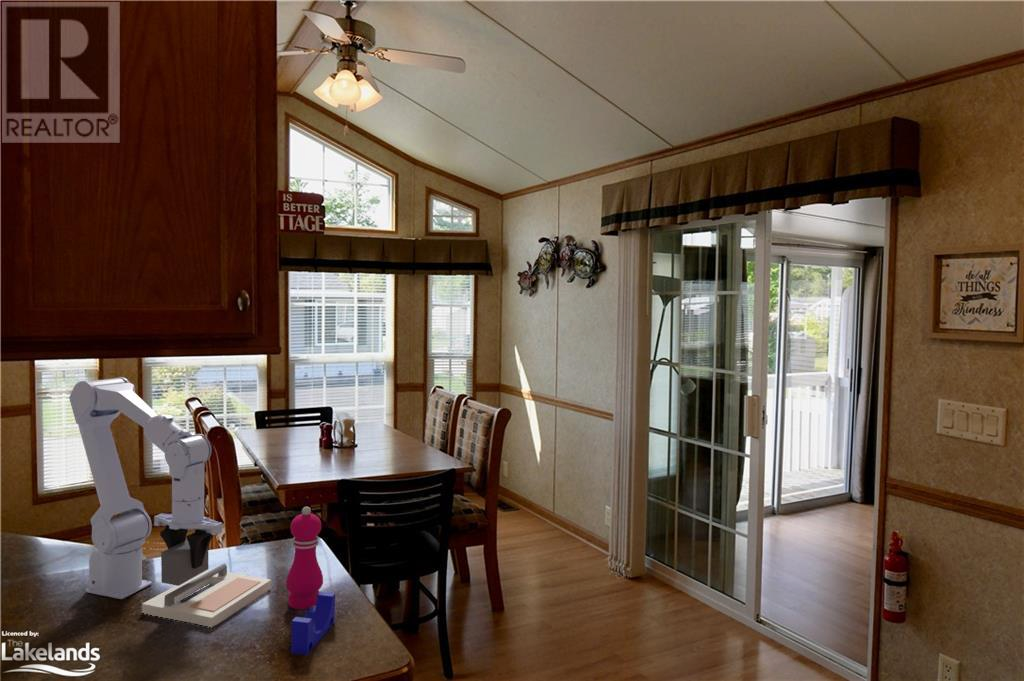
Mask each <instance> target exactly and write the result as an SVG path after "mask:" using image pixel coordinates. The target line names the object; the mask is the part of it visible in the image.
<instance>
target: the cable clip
mask: <svg viewBox="0 0 1024 681" xmlns="http://www.w3.org/2000/svg"><path fill="white" fill-rule="evenodd" d="M335 613H336V592H330V591H329V592H328V591H319V593H318V595H317V603H316V606H312V607H311V608H309V609H307V611H306V613H305V616H304V617H301V616H300V617H299V616H294V618H293V619H292V620H291V638H290V639H291V640H290V641H291V643H290V644H291V646H290V653H291V654H296V655H297V654H298V655H305V656H307V655H309V653H310V652H311V651H312V650H313V649H314V648H315V646H316V645H317V644H318V643H319V642H320V640H322V638H323V637H324V636H325V634H326V633H327V632H328V631H329V630H330V629H331V627H332V626H333V625H334V623H335V619H336V618H335Z"/></svg>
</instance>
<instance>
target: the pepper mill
mask: <svg viewBox="0 0 1024 681" xmlns="http://www.w3.org/2000/svg"><path fill="white" fill-rule="evenodd" d="M311 512H312V510H311V507H309V506H304V507H303V508H302V509H301V513H300V514H298V515H296V516H295V517H294V518H293V519H292V520H291V523H290V529H289V530H290V534H291V535H292V536H293V538H292V546H293V547H294V556H293V557H294V558H293V561H292V564H291V567H290V568H289V571H288V573H287V576H286V582H285V583H286V584H285V587H286V589H287V591H288V592H289V593H288V598H287V600H288V602H287V605H288V607H290V608H291V609H295V610H309V609H310V608H311V607H312V606H316V603H317V595H318V593H319V592H320V591H319V590H320V589H321V587H323V584H324V575H323V572H322V570H321V567H320V565H319V562H318V559H317V546H318V545H319V536H318V535H319V534H320V532H321V530H322V522H321V519H320V517H319V516H318V515H316V514H314V513H311Z"/></svg>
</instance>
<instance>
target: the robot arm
mask: <svg viewBox="0 0 1024 681" xmlns="http://www.w3.org/2000/svg"><path fill="white" fill-rule="evenodd" d="M68 398H69V402H70V405H71V410H72V413H73V416H74V419H75V423H76V424H77V426H78V430H79V433H80V435H81V440H82V444H83V448H84V451H85V455H86V457H87V458H86V459H87V461H88V466H89V468H90V472H91V475H92V479H93V483H94V487H95V490H96V494H97V498H98V502H99V505H100V506H99V508H98V509H97V510H96V511H95V513H94V514H93V515H92V516H91V518H90V524H91V540H92V541H91V542H92V543H93V545H94V547H95V548H94V550H92V552H91V554H90V556H89V559H88V560H89V561H88V588H86V589H85V593H88V594H92V595H93V594H94V595H98V596H104V597H109V598H113V599H118V600H124V599H126V598H127V597H129V596H131V595H133V594H134V593H136V592H140V590H142V589H145V588H147V587H149V586H150V585H152V584H153V582H152V581H150V580H146V579H143V545H144V544H146V538H148V537H149V536H150V534H151V532H152V527H153V526H152V523H153V524H154V526H155V527H160V526H164V527H165V528H164V529H163V530H161V531H160V532H159V536H160V537H161V538H162V540H163V542H164V544H165V545H166V547H167V549H169V548H171V547H174V546H176V545H178V544H180V543H182V542H184V541H186V540H188V543H189V546H190V551H191V565H192V568H194V569H196V568H198V567H200V566H202V564H203V560H204V556H205V553H206V550H207V547H208V548H209V545H210V543H211V542H212V540H213V537H214V536H217V535H219V534H221V533H223V522H221V521H220V522H219V521H216V520H214V519H211V518H209V517H206V516H205V463H206V462H207V461H209V459H210V457H211V455H212V445H211V442H210V441H209V439H208V438H207V437H206V435H205V434H202V433H196V434H195V433H194V432H190V431H189V430H187V429H186V428H185V427H183V426H182V425H181V424H179V423H178V422H177V421H176V420H174V418H175V417H173V415H171V414H164V413H162V414H158V413H157V412H155V410H153V408H151V406H149V405H148V404H147V403H146V401H144V400H143V399H142V398H141V397H140V396H139V395H138V394H137V393H136V388H135V384H133V383H131V381H130V380H128V379H127V378H126V377H124V376H118V377H115V378H105V379H97V380H95V379H94V380H88V381H87V380H80V381H78V382H77V383H75V385H74V386H73V388H72V390H71V393H70V395H69V397H68ZM121 413H122V414H124V416H126V417H128V418H129V419H131V420H132V421H133V422H134V423H136V424H138V426H141V427H142V428H143V435H144V437H145V438H146V440H148V441H150V442H151V443H152V444H153V445H154V446H156V447H157V448H158V449H159V450H160V451H161V452H163V453H164V459H165V462H166V463H167V465H168V469H169V470H168V473H169V475H170V477H171V513H159V514H157V515H154V518H153V521H154V522H152V520H151V517H150V516H149V514H148V512H147V511H146V510H145V507H144V503H143V502H142V501H140V500H139V499H136V498H133V497H131V496H130V492H129V489H128V486H127V483H126V479H125V475H124V471H123V469H122V468H123V467H122V464H121V461H120V457H119V454H118V451H117V447H116V444H115V439H114V437H113V432H112V430H111V424H112V423H113V421H114V420H115V419H116V418H118V416H120V414H121ZM120 514H122V515H120ZM116 515H119V516H116ZM113 516H116V517H113ZM188 531H194V532H192V533H190V534H188ZM187 534H188V535H187Z"/></svg>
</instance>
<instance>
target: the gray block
mask: <svg viewBox="0 0 1024 681" xmlns="http://www.w3.org/2000/svg"><path fill="white" fill-rule="evenodd" d="M160 557H161V558H160V559H161V560H160V561H161V562H160V563H161V564H160V565H161V584H167V585H172V586H176V585H177V586H179V585H181V584H183V583H185V582H186V581H188V580H190V579H192V578H194V577H195V576H197V575H199V574H201V573H202V572H204V571H206V570H208V569H209V546H208V547H207V550H206V553H205V556H204V560H203V564H202V566H200V567H198V568H196V569H194V568H192V565H191V551H190V546H189V543H188V540H187V539H186V540H185V541H184V542H182V543H180V544H178V545H176V546H174V547H171V548H169V549H168V548H167V549H165V550H163V551H161V552H160Z"/></svg>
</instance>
